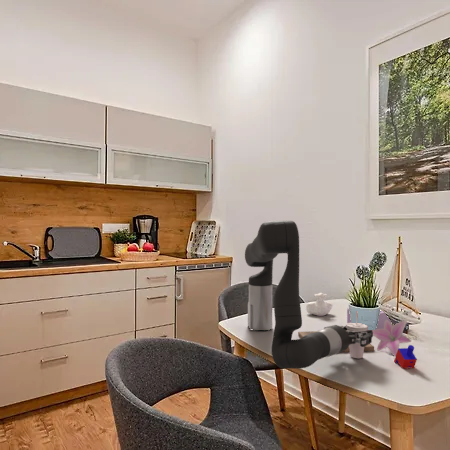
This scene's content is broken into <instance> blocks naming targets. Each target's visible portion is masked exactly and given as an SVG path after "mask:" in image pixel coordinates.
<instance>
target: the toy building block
mask: <svg viewBox="0 0 450 450" xmlns="http://www.w3.org/2000/svg"><path fill="white" fill-rule="evenodd" d="M414 349H415V347H414V345H412V344H409V345H408V347H406V348H405V347H404V348H403V347H401V348H400V347H399V348H398V351H397V354H396V356H394V361H393V362H394V363H395V364H399V366H400V368H401V369H414V368H415V366H416V363H417V360H418V359H417V357H416V355H415V353H414Z"/></svg>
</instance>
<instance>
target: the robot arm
mask: <svg viewBox="0 0 450 450" xmlns="http://www.w3.org/2000/svg"><path fill="white" fill-rule="evenodd" d="M299 233H300V232H299V228H298V226H297V223H296V222H295V221H293V220H272V221H271V220H269V221H264V222H263V223H261V224H260V226H259V229H258V232H257V235H256V237H255V238H253V240H252V242H251V243H248V244H247V245H246V247H245V250H244V260H245V263H246V264H247V266H249V267H252V268H263V269H262V270H261V271H260V272H258V273H256V274H252V275H250V276H249V277H248V302H247V327H248V326H249V327H248V329H249V328H250V329H254V330H253V331H255V330H268V331H270V329H271V330H273V335H272V336H273V337H272V341H271V357H272V361H273V362H274V363H275V365H276V366H277V367H278V368H280V369H285V370H286V369H294V370H296V369H298V370H299V369H301V370H302V369H305V368H308V367H310V366H313V365H314V364H315V363H316V362H317V361H318V360H321V359H324V358H328V357H332V356H335V355H338V354H340V353H344V352H343V351H345V350H346V349H347V348H348V347H349V345H351V344H355V343H360V346H361V347H365V346H367V345H368V344H372V340H373V339H372V338H373V337H374V336H373V332H372V330H367V331H364V332H360V331H358V330H357V331H350V330H347V328H346V325H345V326H344V325H337V324H334V325H329V326H324V327H323V328H321V329H319V330H317V332H314V333H311V334H308V335H305V336H304V337H302V338H299V339H297V338H296V339H292V338H293V333H294V332H295V331H296V330H299V329H301V328H302V325H303V317H302V310H301V307H302V306H301V301H300V299H301V298H300V234H299ZM279 254H287V262H286V266H285V269H284V272H283V275H282V277H281V279H280V280H279V282H278V284H277V287H276V289H275V290H274V291H275V292H274V296H273V270H274V267H273V266H274V259H275V258H276V257H277V256H278V255H279ZM273 311H274V322H275V323H274V324H275V326H274V329H273ZM250 329H249V330H250ZM355 334H356V335H355ZM361 335H363V336H361Z"/></svg>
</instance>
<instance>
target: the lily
mask: <svg viewBox="0 0 450 450" xmlns="http://www.w3.org/2000/svg"><path fill="white" fill-rule="evenodd" d="M406 325H407V320H402V321H401V320H400V322H399V323H396V324H395V325H393V326H392V324H391V323H390V322H389V321H388V320H385V324H384V329H375V330H372V332H373V337H375V338H376V339H377V340H379V341H380V342H379V343H378V345H377V349H376V351H382V350H384V349H386V348H387V349H388V350H389V352H390V353H391V354H392V355H393V356H394V357H396V354H397V351H398V348H400V344H406V343H407V344H409V343H411V342H412V340H411V339H410V338H409V337H408V336H406V335H404V334H403V332H404V329H405V327H406Z"/></svg>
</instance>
